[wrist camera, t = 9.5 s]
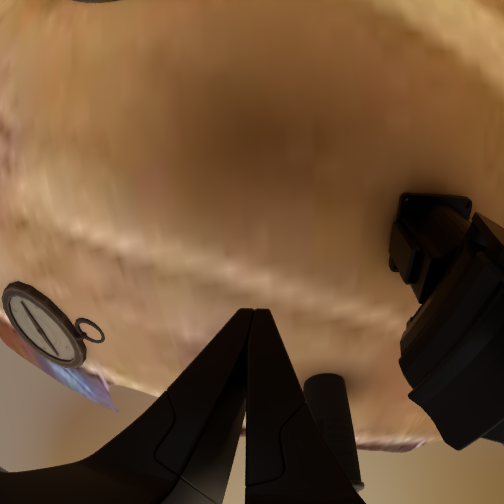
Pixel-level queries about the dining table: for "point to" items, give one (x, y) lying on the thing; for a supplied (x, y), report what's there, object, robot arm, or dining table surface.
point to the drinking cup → (334, 421)
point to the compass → (46, 325)
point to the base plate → (94, 1)
